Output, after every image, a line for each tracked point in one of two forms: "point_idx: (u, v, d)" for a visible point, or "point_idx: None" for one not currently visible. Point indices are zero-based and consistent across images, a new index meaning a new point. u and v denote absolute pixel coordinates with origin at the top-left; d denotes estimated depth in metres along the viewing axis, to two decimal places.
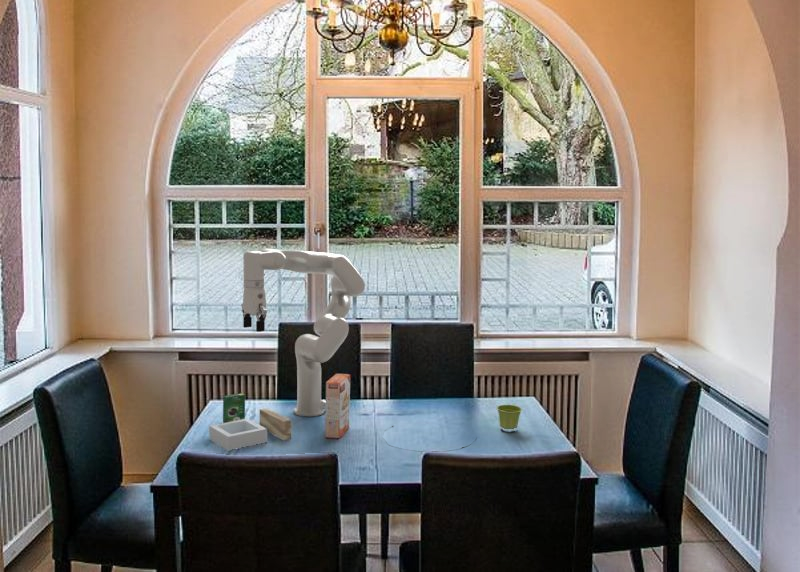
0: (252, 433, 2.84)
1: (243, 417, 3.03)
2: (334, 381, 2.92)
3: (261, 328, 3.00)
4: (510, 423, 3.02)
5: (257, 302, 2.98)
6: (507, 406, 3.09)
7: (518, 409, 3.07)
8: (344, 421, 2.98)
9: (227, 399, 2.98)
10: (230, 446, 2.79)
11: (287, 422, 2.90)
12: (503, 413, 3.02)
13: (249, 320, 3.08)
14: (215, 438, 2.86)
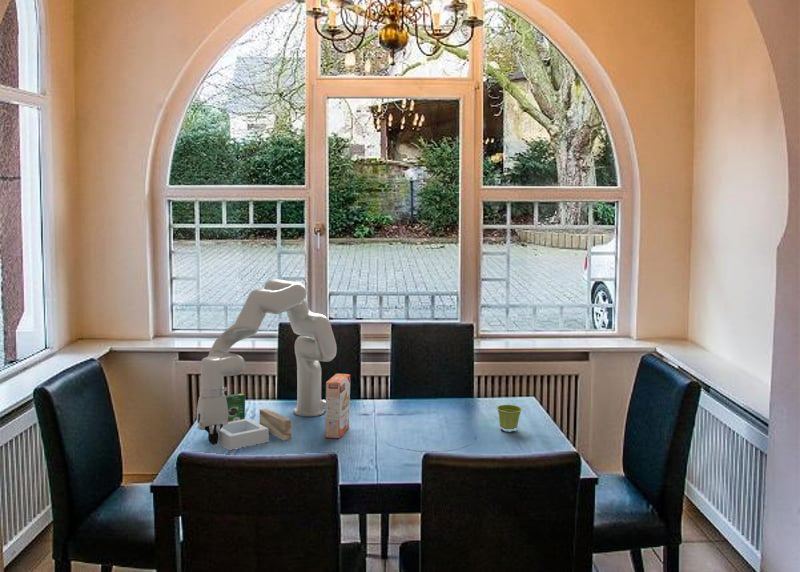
0: (253, 433, 2.84)
1: (243, 417, 3.03)
2: (334, 381, 2.92)
3: None
4: (510, 423, 3.02)
5: None
6: (507, 406, 3.09)
7: (518, 409, 3.07)
8: (344, 421, 2.98)
9: (227, 399, 2.98)
10: (232, 446, 2.79)
11: (287, 422, 2.90)
12: (503, 413, 3.02)
13: None
14: None
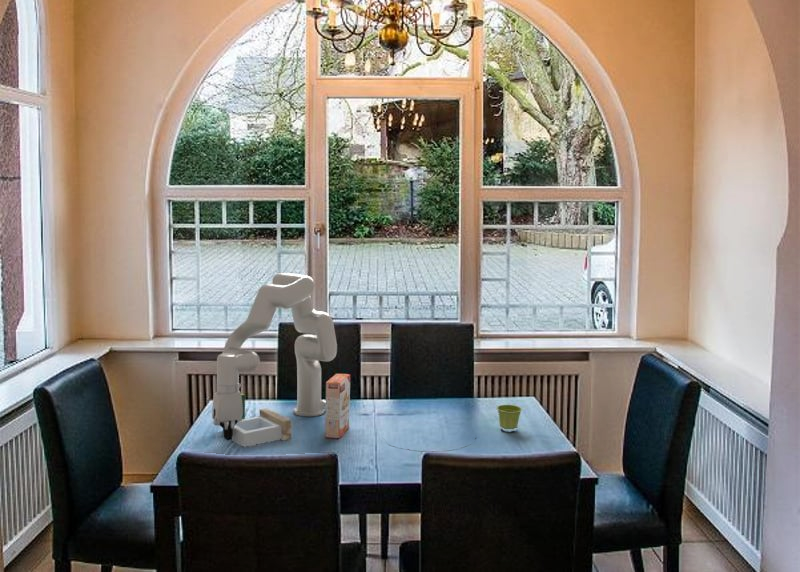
0: (267, 430, 2.87)
1: (243, 417, 3.03)
2: (334, 381, 2.92)
3: None
4: (510, 423, 3.02)
5: None
6: (507, 406, 3.09)
7: (518, 409, 3.07)
8: (344, 421, 2.98)
9: None
10: (246, 443, 2.83)
11: (287, 422, 2.90)
12: (503, 413, 3.02)
13: None
14: None
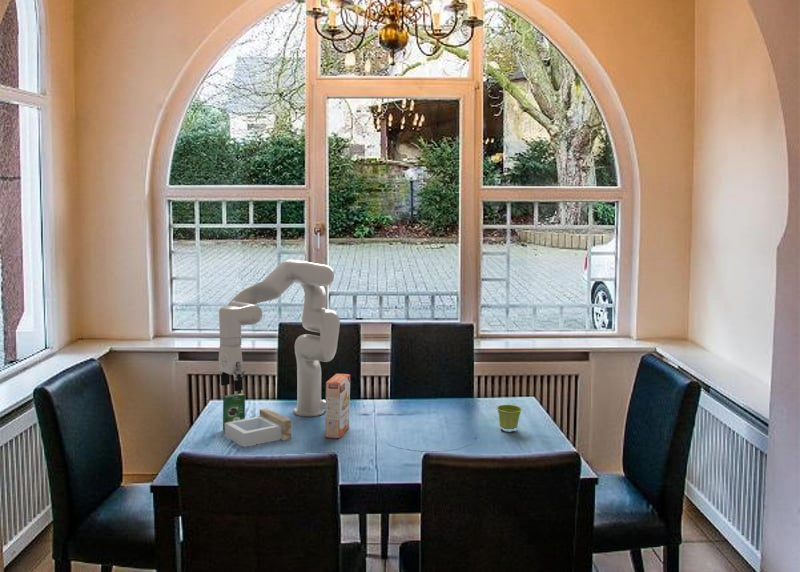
0: (267, 430, 2.87)
1: (243, 417, 3.03)
2: (334, 381, 2.92)
3: None
4: (510, 423, 3.02)
5: None
6: (507, 406, 3.09)
7: (518, 409, 3.07)
8: (344, 421, 2.98)
9: (227, 399, 2.98)
10: (246, 443, 2.83)
11: (287, 422, 2.90)
12: (503, 413, 3.02)
13: None
14: (231, 435, 2.90)
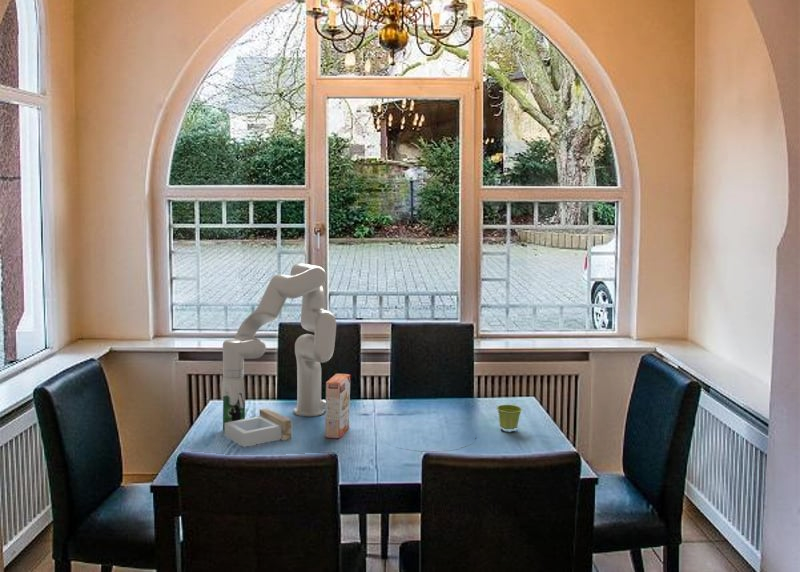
0: (267, 430, 2.87)
1: (243, 417, 3.03)
2: (334, 381, 2.92)
3: None
4: (510, 423, 3.02)
5: None
6: (507, 406, 3.09)
7: (518, 409, 3.07)
8: (344, 421, 2.98)
9: (227, 399, 2.98)
10: (246, 443, 2.83)
11: (287, 422, 2.90)
12: (503, 413, 3.02)
13: None
14: (230, 435, 2.90)
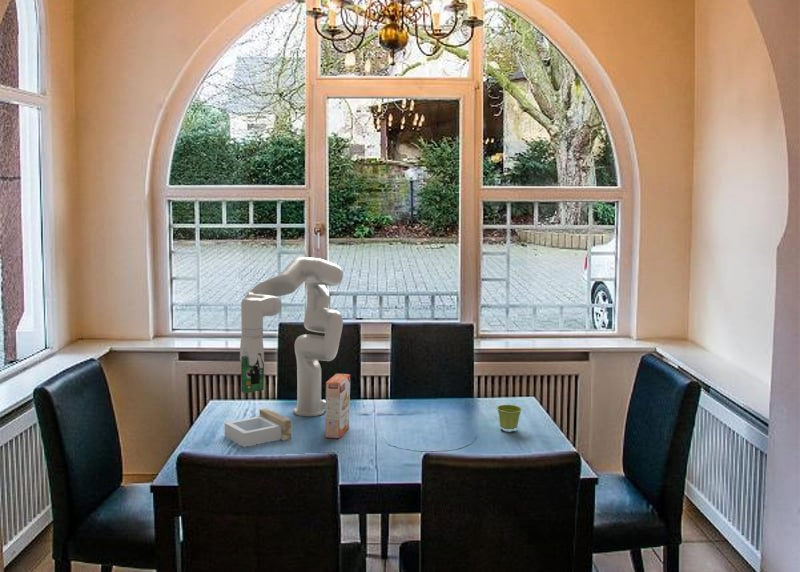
0: (267, 430, 2.87)
1: (262, 379, 2.91)
2: (334, 381, 2.92)
3: None
4: (510, 423, 3.02)
5: None
6: (507, 406, 3.09)
7: (518, 409, 3.07)
8: (344, 421, 2.98)
9: (246, 360, 2.86)
10: (246, 443, 2.83)
11: (287, 422, 2.90)
12: (503, 413, 3.02)
13: None
14: (230, 435, 2.90)
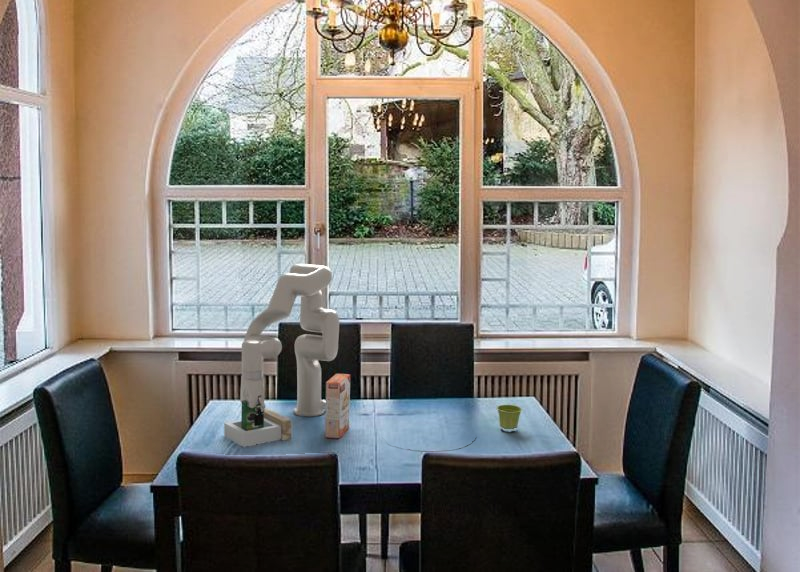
0: (267, 430, 2.87)
1: None
2: (334, 381, 2.92)
3: None
4: (510, 423, 3.02)
5: None
6: (507, 406, 3.09)
7: (518, 409, 3.07)
8: (344, 421, 2.98)
9: (246, 404, 2.88)
10: (245, 443, 2.83)
11: (287, 422, 2.90)
12: (503, 413, 3.02)
13: None
14: (230, 435, 2.90)
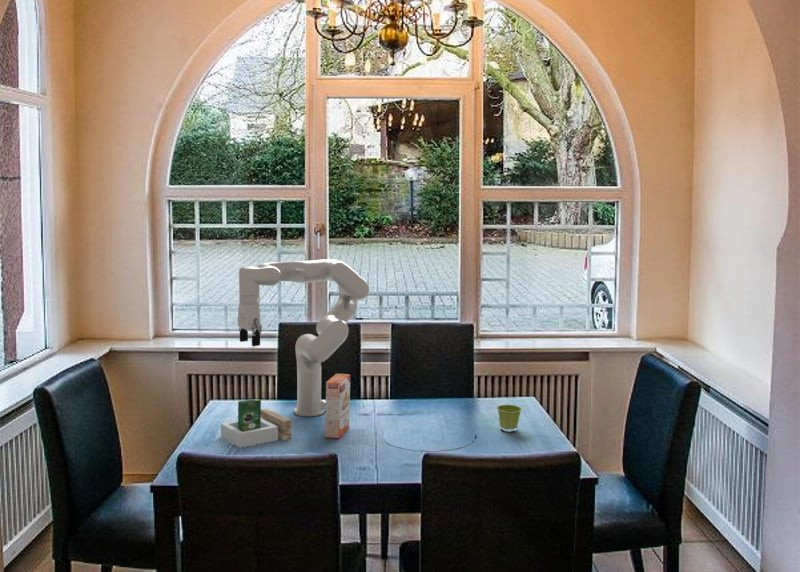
0: (263, 431, 2.86)
1: (259, 423, 2.92)
2: (334, 381, 2.92)
3: None
4: (510, 423, 3.02)
5: None
6: (507, 406, 3.09)
7: (518, 409, 3.07)
8: (344, 421, 2.98)
9: (242, 405, 2.87)
10: (242, 444, 2.82)
11: (287, 422, 2.90)
12: (503, 413, 3.02)
13: None
14: (226, 436, 2.89)
